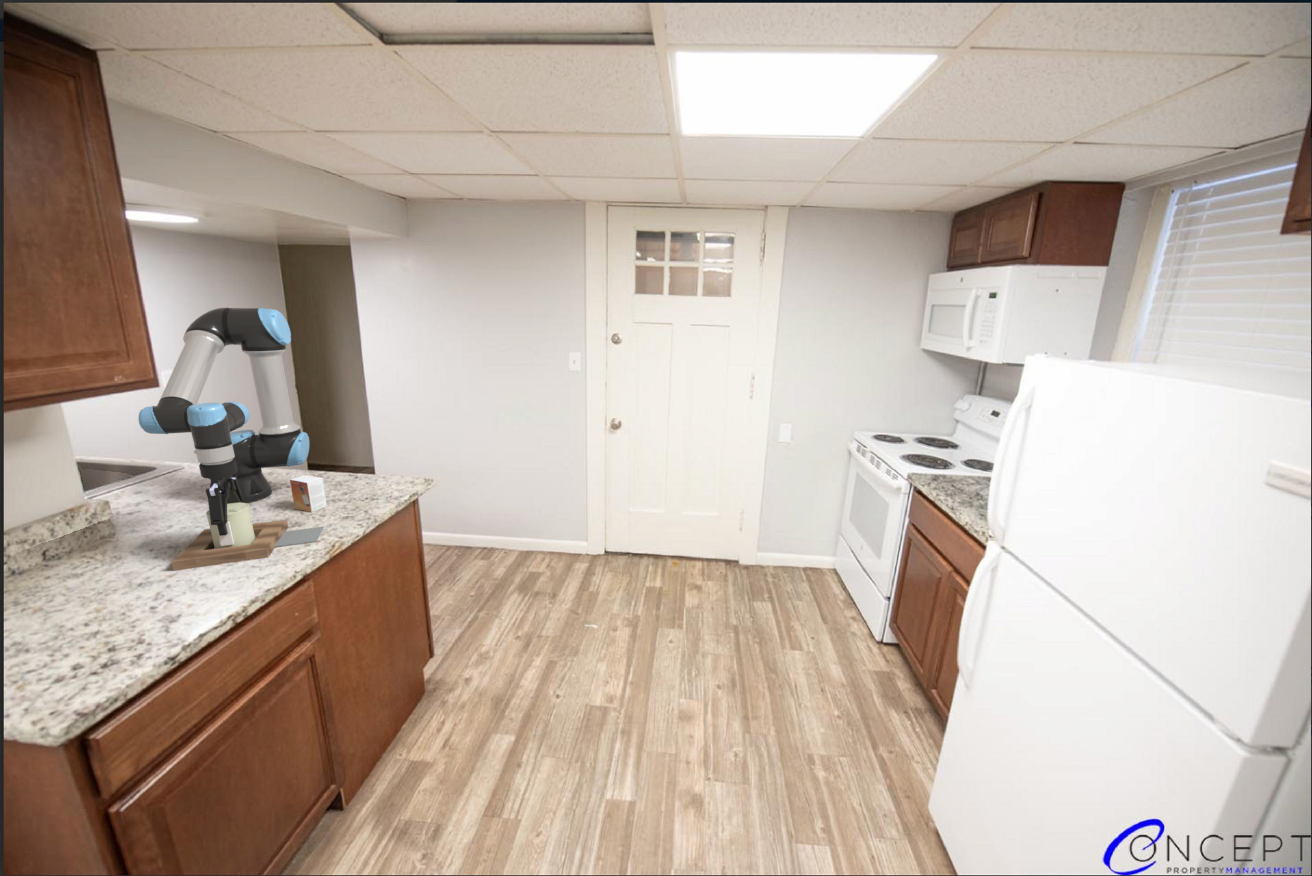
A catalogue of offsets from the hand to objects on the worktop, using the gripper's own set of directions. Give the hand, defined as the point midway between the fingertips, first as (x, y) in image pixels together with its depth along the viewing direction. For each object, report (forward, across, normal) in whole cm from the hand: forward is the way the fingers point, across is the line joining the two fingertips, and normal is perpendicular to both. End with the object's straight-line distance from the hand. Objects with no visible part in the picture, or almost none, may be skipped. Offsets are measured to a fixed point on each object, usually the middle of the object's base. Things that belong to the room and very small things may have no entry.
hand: (234, 536), depth 139 cm
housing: (+3, 0, 0) cm, 3 cm away
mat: (+3, -1, +15) cm, 15 cm away
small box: (+4, -25, +13) cm, 28 cm away
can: (+3, 0, 0) cm, 3 cm away
